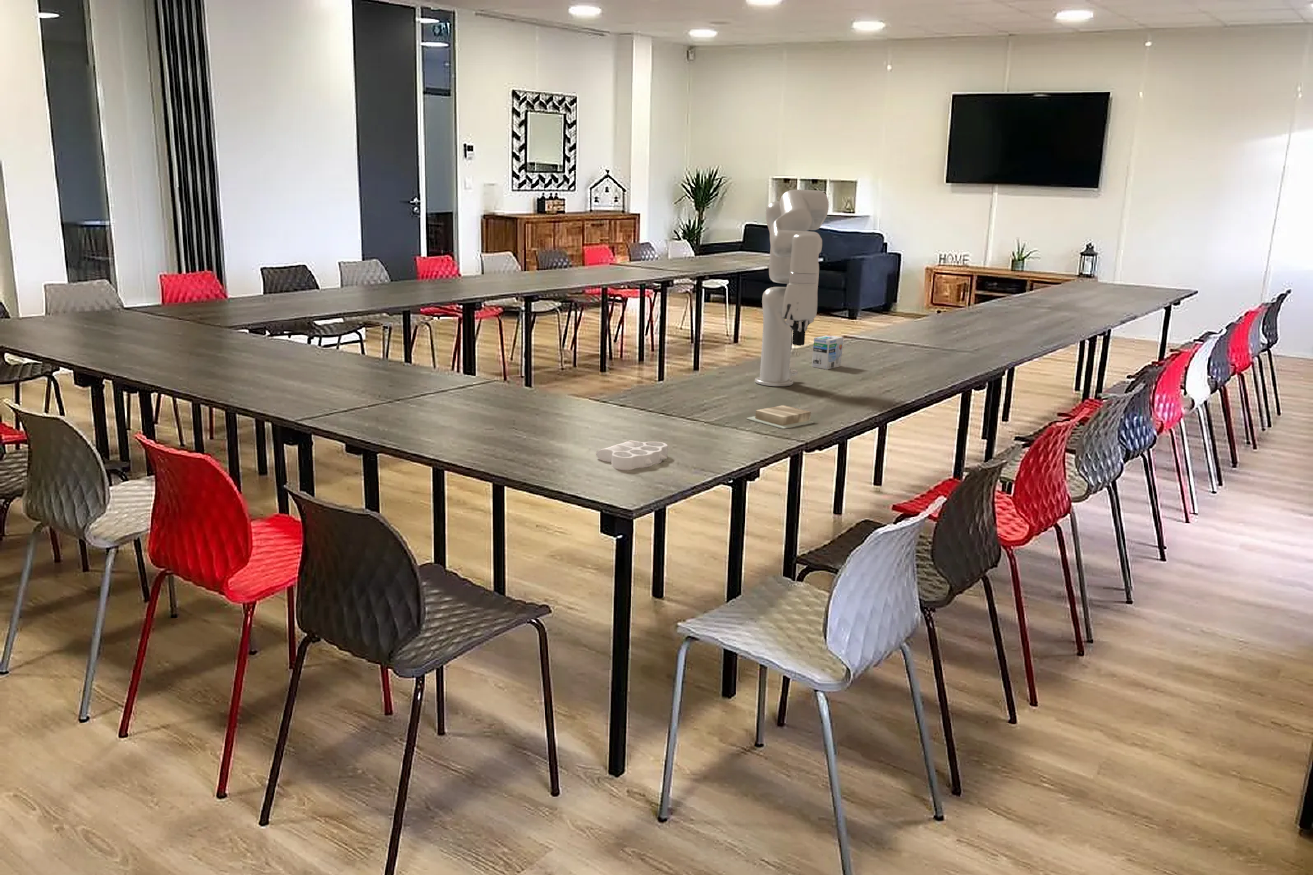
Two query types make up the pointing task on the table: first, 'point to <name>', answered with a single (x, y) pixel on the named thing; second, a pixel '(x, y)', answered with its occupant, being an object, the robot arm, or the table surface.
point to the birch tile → (782, 415)
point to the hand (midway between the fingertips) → (798, 344)
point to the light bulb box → (827, 352)
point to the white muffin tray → (634, 454)
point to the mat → (780, 425)
